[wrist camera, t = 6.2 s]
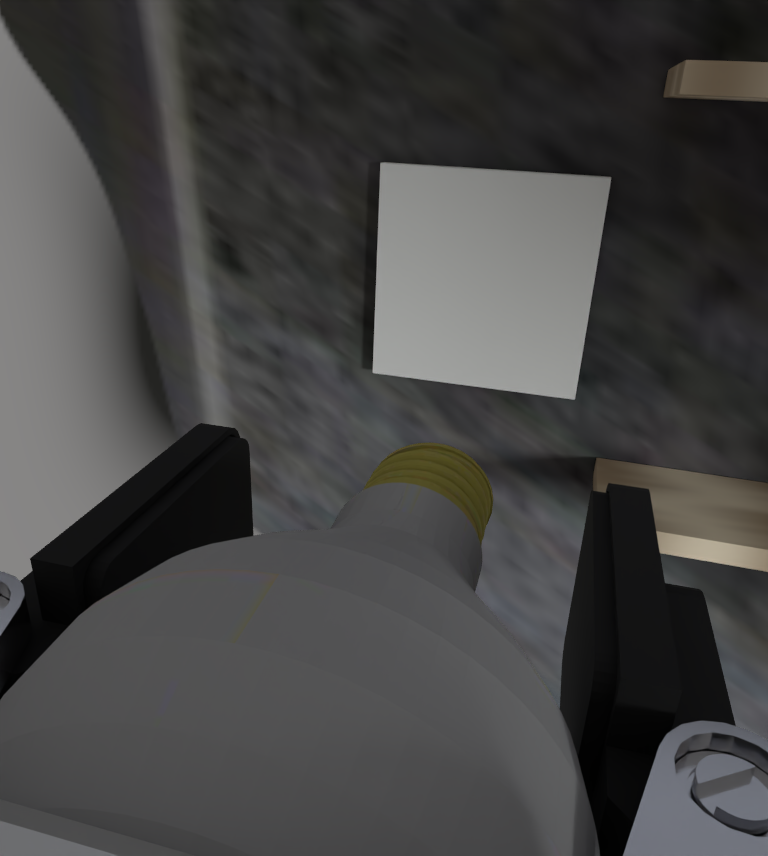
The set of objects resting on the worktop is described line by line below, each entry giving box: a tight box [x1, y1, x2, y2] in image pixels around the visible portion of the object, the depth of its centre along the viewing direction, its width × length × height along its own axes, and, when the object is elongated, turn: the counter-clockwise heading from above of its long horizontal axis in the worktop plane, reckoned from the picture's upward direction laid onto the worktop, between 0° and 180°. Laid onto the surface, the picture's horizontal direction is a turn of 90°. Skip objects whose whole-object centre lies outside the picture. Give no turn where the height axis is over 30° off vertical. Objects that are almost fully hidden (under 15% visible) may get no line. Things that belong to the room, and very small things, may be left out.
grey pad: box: [373, 162, 611, 400], centre depth 27 cm, size 8×8×1 cm
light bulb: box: [0, 443, 600, 856], centre depth 8 cm, size 6×5×10 cm
